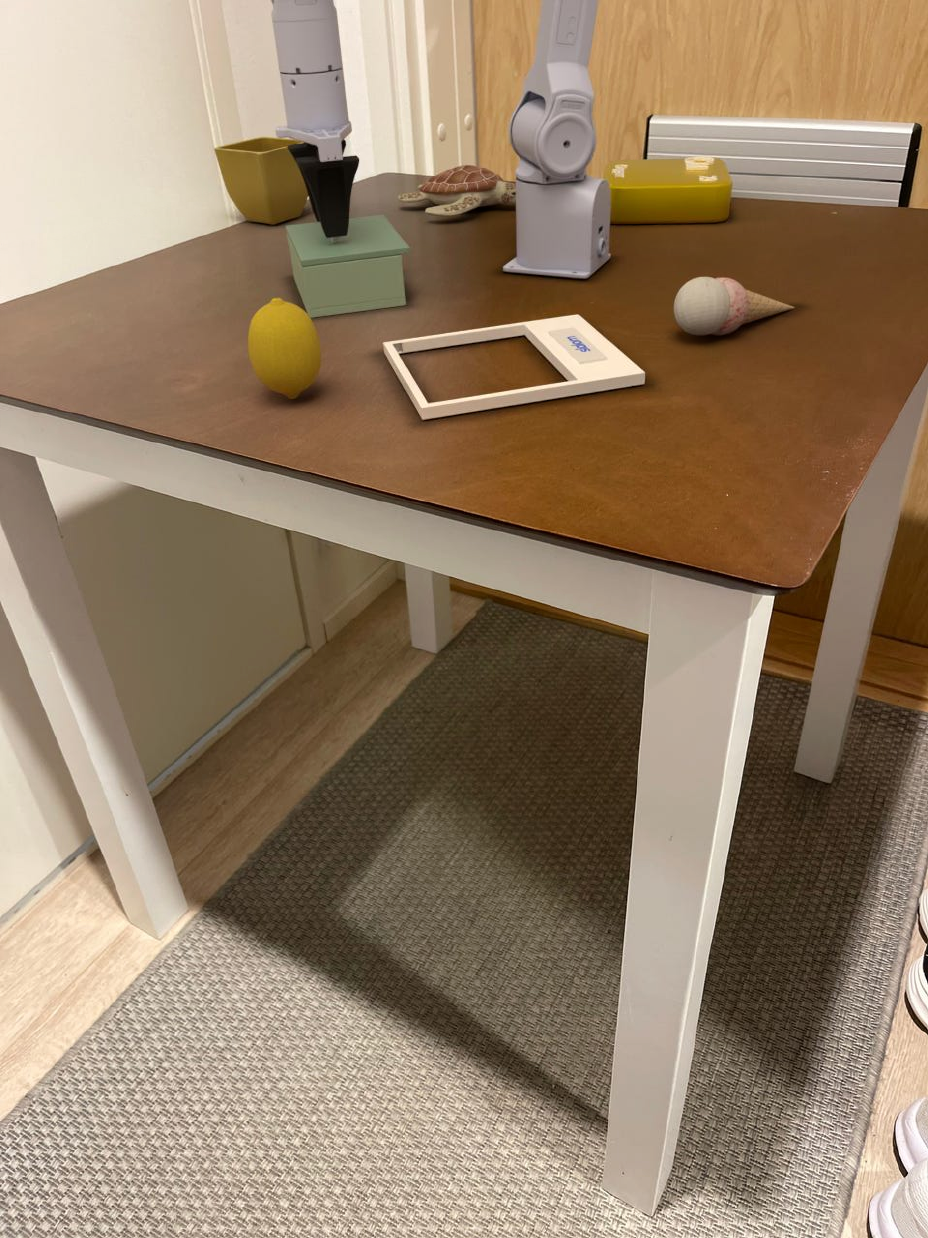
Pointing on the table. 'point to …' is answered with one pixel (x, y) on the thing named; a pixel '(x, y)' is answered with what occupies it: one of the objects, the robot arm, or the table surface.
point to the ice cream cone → (720, 306)
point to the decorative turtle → (463, 191)
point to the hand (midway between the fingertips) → (331, 227)
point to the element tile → (669, 190)
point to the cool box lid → (346, 241)
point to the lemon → (284, 348)
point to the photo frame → (558, 339)
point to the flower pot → (263, 179)
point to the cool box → (349, 284)
